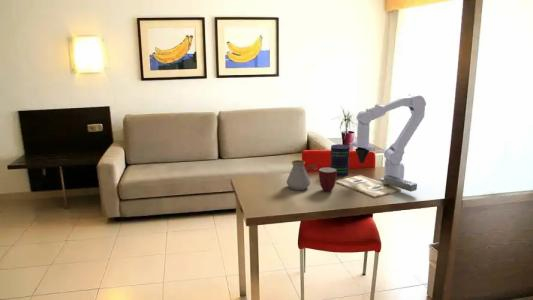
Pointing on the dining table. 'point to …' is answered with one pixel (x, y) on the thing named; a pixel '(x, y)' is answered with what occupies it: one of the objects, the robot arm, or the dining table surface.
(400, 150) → the robot arm
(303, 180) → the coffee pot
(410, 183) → the grey square pillar
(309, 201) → the dining table surface
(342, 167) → the storage jar
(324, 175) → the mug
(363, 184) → the label board
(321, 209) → the dining table surface
